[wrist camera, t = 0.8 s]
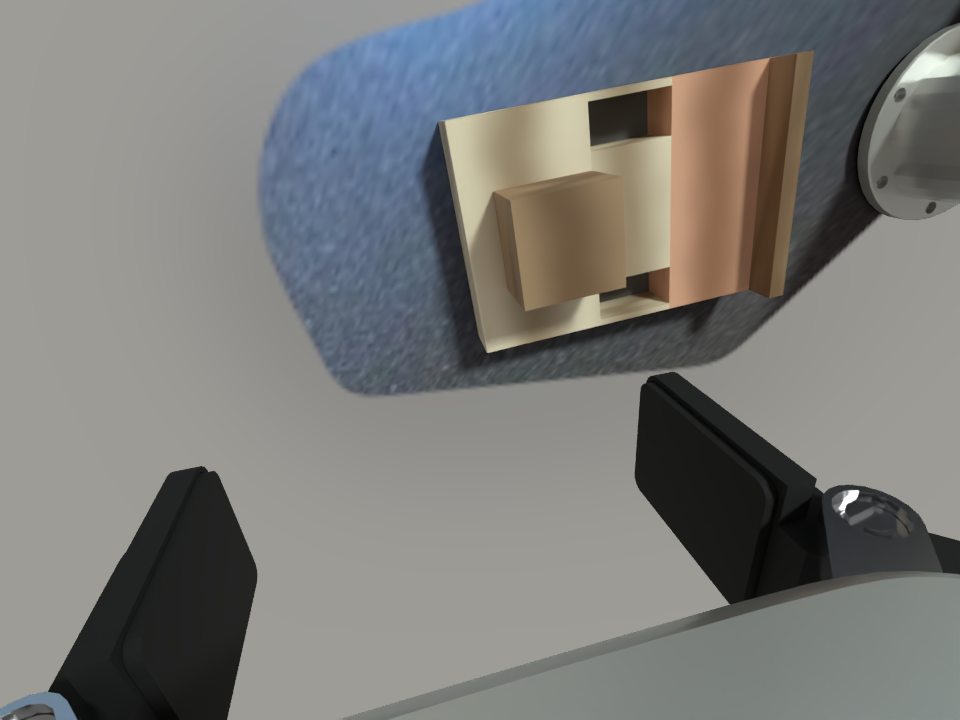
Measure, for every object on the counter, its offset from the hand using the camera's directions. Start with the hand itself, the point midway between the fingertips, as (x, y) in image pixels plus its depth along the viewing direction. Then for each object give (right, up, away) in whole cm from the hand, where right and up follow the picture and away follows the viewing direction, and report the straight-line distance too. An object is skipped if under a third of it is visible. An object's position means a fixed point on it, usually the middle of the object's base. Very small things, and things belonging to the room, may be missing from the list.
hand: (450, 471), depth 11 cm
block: (+5, +10, +19) cm, 22 cm away
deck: (+9, +13, +22) cm, 27 cm away
